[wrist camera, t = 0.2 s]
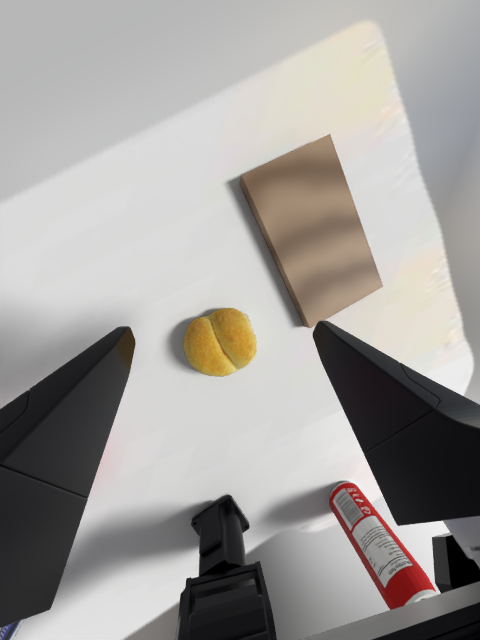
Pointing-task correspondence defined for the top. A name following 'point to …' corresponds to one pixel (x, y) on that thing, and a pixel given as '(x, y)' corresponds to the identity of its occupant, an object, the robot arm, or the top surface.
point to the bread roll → (220, 342)
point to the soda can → (379, 549)
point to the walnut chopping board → (312, 230)
